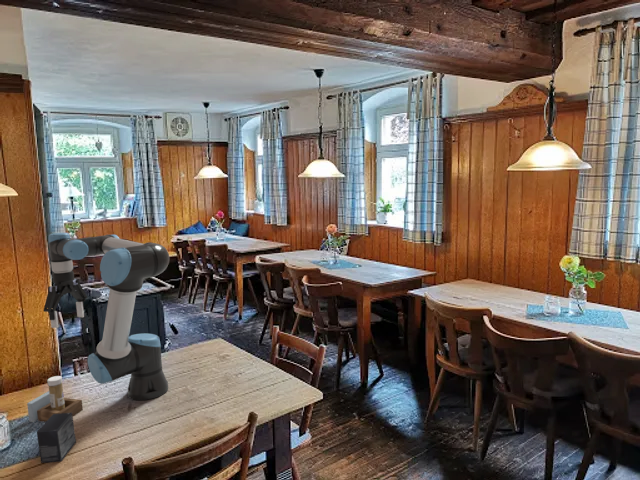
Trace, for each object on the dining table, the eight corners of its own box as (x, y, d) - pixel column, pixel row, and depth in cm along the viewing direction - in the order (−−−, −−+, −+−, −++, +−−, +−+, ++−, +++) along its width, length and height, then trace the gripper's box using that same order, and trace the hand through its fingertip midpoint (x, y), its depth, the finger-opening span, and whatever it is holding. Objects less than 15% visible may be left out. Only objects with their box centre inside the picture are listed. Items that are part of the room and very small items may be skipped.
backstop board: (60, 405, 174) (58, 388, 173) (34, 422, 163) (31, 403, 162) (56, 405, 175) (54, 387, 174) (29, 421, 163) (27, 403, 162)
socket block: (82, 410, 170) (81, 399, 170) (61, 424, 161) (60, 413, 160) (60, 407, 173) (59, 397, 172) (38, 421, 163) (36, 410, 163)
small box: (56, 443, 149) (52, 413, 148) (76, 442, 150) (73, 411, 148) (39, 463, 139) (35, 431, 137) (61, 462, 139) (58, 429, 138)
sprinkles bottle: (66, 414, 166) (62, 378, 164) (51, 417, 164) (47, 382, 162) (65, 408, 170) (61, 374, 168) (51, 412, 168) (46, 377, 166)
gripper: (78, 264, 199) (83, 312, 202) (28, 277, 175) (35, 331, 178) (93, 265, 197) (97, 313, 200) (45, 278, 173) (51, 332, 176)
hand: (68, 322), depth 189 cm, fingers open, 13 cm apart
